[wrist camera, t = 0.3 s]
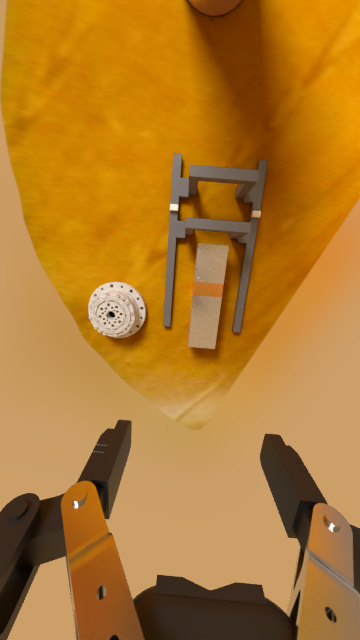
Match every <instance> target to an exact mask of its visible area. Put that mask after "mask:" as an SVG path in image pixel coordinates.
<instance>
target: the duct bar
mask: <svg viewBox="0 0 360 640" xmlns="http://www.w3.org/2000/svg"><path fill="white" fill-rule="evenodd" d="M228 249H229V245H217V244H205V243H198V244H197V248H196V258H195V269H194V280H193V290H192V301H191V311H190V322H189V332H188V347H198V348H209V349H215V346H216V338H217V331H218V323H219V316H220V308H221V301H222V293H223V286H224V278H225V271H226V264H227V256H228Z"/></svg>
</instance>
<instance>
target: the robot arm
mask: <svg viewBox="0 0 360 640" xmlns="http://www.w3.org/2000/svg"><path fill="white" fill-rule="evenodd" d="M241 1H242V0H189V2H190V3H191V5H192V6H193V7H195V8H196V9H197V10H198V11H200V12H202V13H203V14H206V15H211V16H217V15H222V14H225V13H228V12H229V11H231V10H232V9H234V8H235V7H236V6H237V5H238V4H239V3H240V2H241ZM130 446H131V421H128V420H118V422H117V424H116V426H115V429H107V430H106V431H105V432H104V433H103V434H102V435H101V436H100V438H99V440H98V442H97V444H96V446H95V448H94V450H93V452H92V454H91V456H90V458H89V460H88V462H87V464H86V466H85V468H84V470H83V472H82V474H81V476H80V478H79V479H78V481H77V483H76V484H74V485H72V486H71V487H70V488H69V489H68V490H67V491H66V492H65V493H64V494H62V495H60V496H56V497H53V498H49V499H45V500H41V501H40V500H39V497H38V496H37V495H36V494H33V493H27V494H23V495H20V496H18V497H17V498H15V499H13V500H12V501H10V502H9V503H8V504H7V505H6V506H5V507H4V508H3V509H2V511H1V512H0V640H7V638H8V636H9V633H10V631H11V629H12V626H13V624H14V622H15V620H16V617H17V615H18V613H19V611H20V608H21V606H22V604H23V602H24V600H25V597H26V595H27V593H28V591H29V588H30V586H31V584H32V581H33V579H34V577H35V575H36V572H37V570H38V568H39V566H40V564H43V563H46V562H49V561H52V560H55V559H58V558H61V557H64V556H66V562H67V570H68V579H69V586H70V594H71V602H72V610H73V619H74V628H75V635H76V640H360V597H359V594H360V528H357V527H355V526H352V525H350V524H349V523H348V522H347V520H346V519H345V518H344V516H343V515H342V514H341V513H340V512H338V511H337V510H336V509H335V508H333V507H331V506H329V505H328V504H327V502H326V500H325V499H324V497H323V495H322V493H321V492H320V490H319V488H318V487H317V485H316V483H315V482H314V480H313V478H312V477H311V475H310V473H308V470H307V468H306V466H305V465H304V463H303V462H302V460H301V458H300V456H299V455H298V453H297V452H295V450H294V449H293V448H292V447H290V446H286V445H285V443H284V441H283V439H282V438H281V436H280V435H276V434H265V436H264V441H263V445H262V449H261V454H260V461H261V466H262V468H263V471H264V474H265V476H266V479H267V482H268V485H269V487H270V490H271V492H272V495H273V498H274V501H275V503H276V506H277V509H278V511H279V514H280V517H281V519H282V522H283V525H284V527H285V530H286V533H287V535H288V537H289V538H297V539H298V541H299V543H300V548H299V552H298V558H297V563H296V569H295V575H294V580H293V586H292V591H291V596H290V601H289V605H288V608H287V612H286V613H285V612H284V611H283V610H282V609H281V608H280V607H278V606H277V605H276V604H275V603H273V602H272V601H270V600H269V599H267V598H265V596H264V593H263V588H262V585H256V584H246V583H233V584H230V585H227V586H224V587H221V588H218V589H215V590H207V589H205V588H203V587H201V586H199V585H197V584H195V583H193V582H191V581H189V580H187V579H185V578H183V577H174V576H164V575H157V583H156V586H153V587H150V588H148V589H146V590H144V591H143V592H141V593H140V594H139V595H138V596H136V597H135V598H134V599H132V596H131V593H130V590H129V586H128V583H127V580H126V576H125V573H124V570H123V566H122V563H121V560H120V557H119V553H118V550H117V547H116V544H115V540H114V537H113V535H112V533H109V530H108V527H107V524H106V520H105V519H109V517H110V514H111V510H112V507H113V504H114V501H115V497H116V494H117V491H118V488H119V484H120V481H121V478H122V474H123V471H124V468H125V465H126V461H127V458H128V455H129V451H130Z"/></svg>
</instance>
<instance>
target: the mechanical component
mask: <svg viewBox="0 0 360 640" xmlns="http://www.w3.org/2000/svg"><path fill="white" fill-rule="evenodd" d="M112 285H113V286H112ZM122 286H123V287H122ZM131 290H132V291H133V292H131ZM96 294H97V295H96ZM138 298H139V299H138ZM141 307H143V309H142V308H141ZM88 311H89V319H90V321H91V323H92V324H93V326H94V329H97V330H98V332H99V333H102V334H103V335H107V336H109V337H114V338H125V337H129V336H131V335H133V334H135V333H136V332H137V331H138V330H139V329H140V328H141V326H142V325H143V323H144V321H145V318H146V305H145V302H144V299H143V297H142V295H141V294H140V293H139V292H138V291H137V290H136V289H135V288H134V287H132V286H131V285H128V284H126V283H122V282H111V283H106V284H104V285H102V286H100V287H98V288H97V289H96V290H95V291H94V293H93V294H92V295H91V298H90V301H89V309H88ZM110 311H112V312H113V314H115V315H113V316H111V315H110V313H109V312H110ZM138 325H139V326H138Z"/></svg>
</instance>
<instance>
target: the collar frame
mask: <svg viewBox="0 0 360 640" xmlns="http://www.w3.org/2000/svg"><path fill="white" fill-rule="evenodd" d="M181 164H182V154H179V153H173V170H172V186H171V203H170V220H169V237H168V254H167V270H166V287H165V304H164V321H163V326H167V327H170V323H171V309H172V294H173V280H174V265H175V251H176V238H182V239H185V235H193V232H194V230H203V231H216V232H228V233H230V238H231V239H237V243H244V244H245V249H244V255H243V262H242V268H241V275H240V281H239V288H238V295H237V301H236V308H235V314H234V321H233V327H232V331H233V332H239V333H240V330H241V324H242V318H243V312H244V305H245V299H246V293H247V287H248V281H249V275H250V269H251V263H252V257H253V251H254V245H255V239H256V233H257V227H258V221H259V218H260V216H261V211H260V209H261V203H262V197H263V190H264V184H265V178H266V172H267V166H268V160H260V161H259V162H258V164H257V170H252V169H239V168H227V167H214V166H201V165H190V171H189V178H181ZM198 181H208V182H221V183H234V184H240V185H239V186H238V188H237V189H236V196H235V198H240V199H243V202H242V203H248V204H251V210H250V216H249V222H238V221H225V220H213V219H200V218H187V217H186V221H178V208H179V198H184V199H188V195H196V194H197V187H198Z"/></svg>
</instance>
